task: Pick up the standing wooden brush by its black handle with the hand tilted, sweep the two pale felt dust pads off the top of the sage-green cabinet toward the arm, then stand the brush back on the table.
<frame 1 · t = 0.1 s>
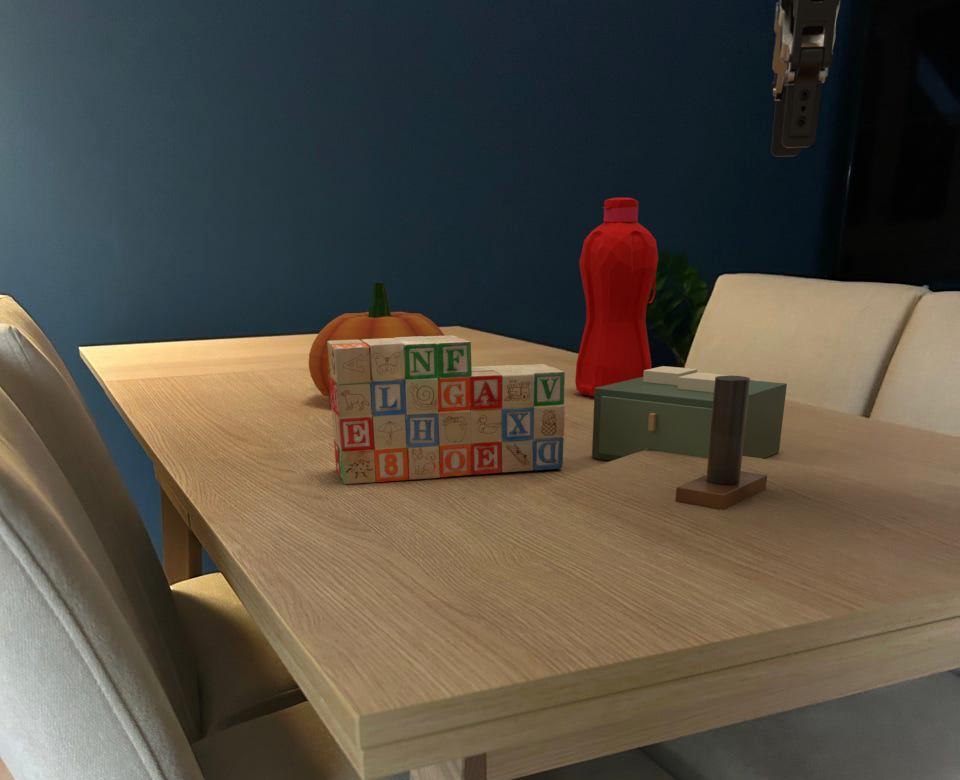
hand: (791, 151, 71), 27 cm above the table, tool pointing down, fingers open, 8 cm apart
cabinet: (686, 455, 99), on the table
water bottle: (617, 396, 135), on the table
dust pad 1: (669, 381, 99), point 7 cm above the table, touching cabinet
stack of blocks: (448, 472, 94), on the table
brush: (719, 517, 78), on the table
pumpkin: (383, 401, 132), on the table
dust pad 2: (705, 388, 95), point 7 cm above the table, touching cabinet
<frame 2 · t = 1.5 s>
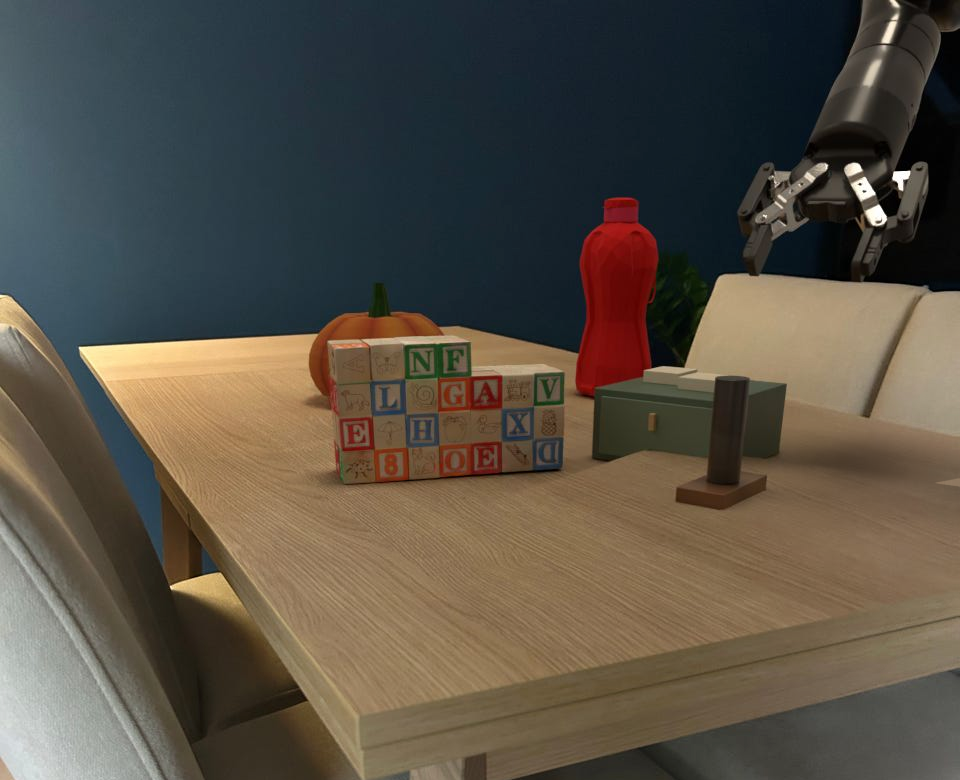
hand: (802, 272, 79), 18 cm above the table, tool tilted 45°, fingers open, 8 cm apart
nothing on the table moved.
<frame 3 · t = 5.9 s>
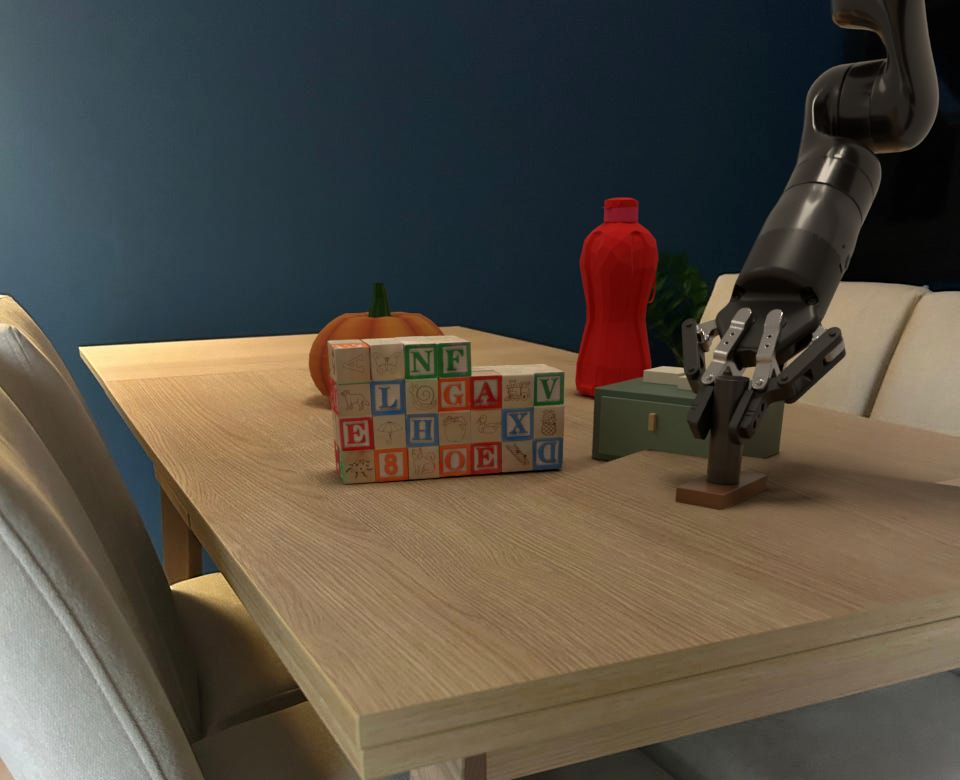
hand: (715, 435, 74), 7 cm above the table, tool tilted 45°, fingers closed on brush, 2 cm apart
brush: (719, 517, 78), on the table, touching gripper
everything else where it was.
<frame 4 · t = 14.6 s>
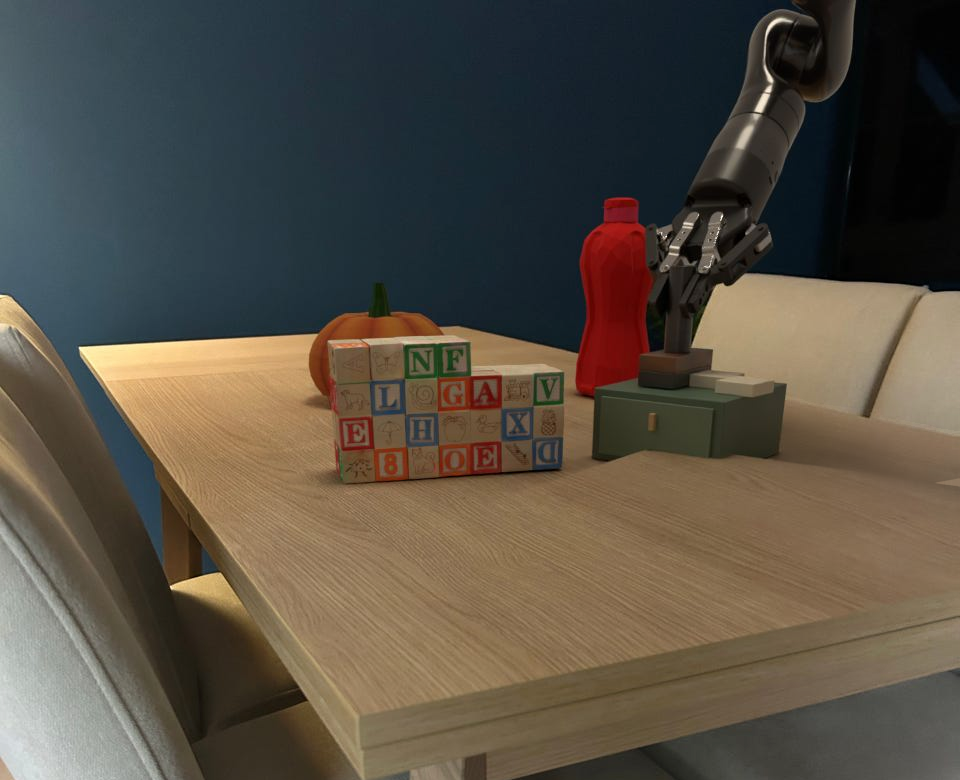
hand: (670, 311, 93), 14 cm above the table, tool tilted 45°, fingers closed on brush, 2 cm apart
dust pad 1: (716, 386, 96), point 7 cm above the table, touching brush, cabinet
brush: (674, 382, 98), point 7 cm above the table, touching dust pad 1, gripper
dust pad 2: (744, 392, 92), point 7 cm above the table
everything else where it was.
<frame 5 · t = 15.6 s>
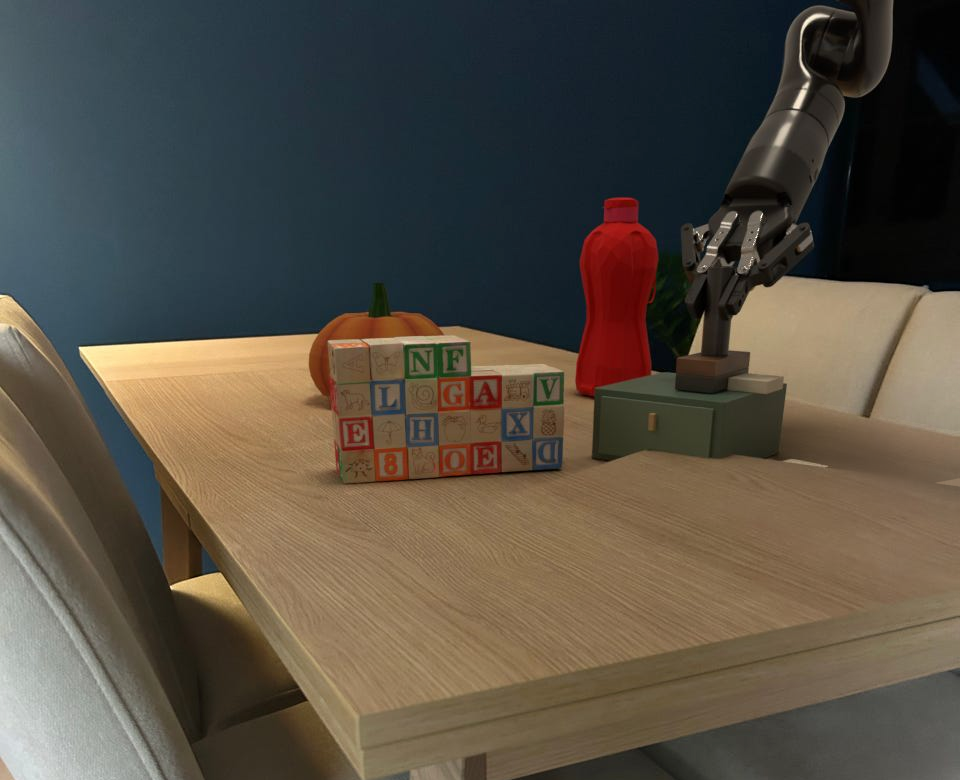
hand: (708, 313, 91), 14 cm above the table, tool tilted 45°, fingers closed on brush, 2 cm apart
dust pad 1: (754, 389, 94), point 7 cm above the table
brush: (711, 386, 95), point 7 cm above the table, touching gripper
dust pad 2: (797, 465, 90), point 1 cm above the table, tilted 180°
everything else where it was.
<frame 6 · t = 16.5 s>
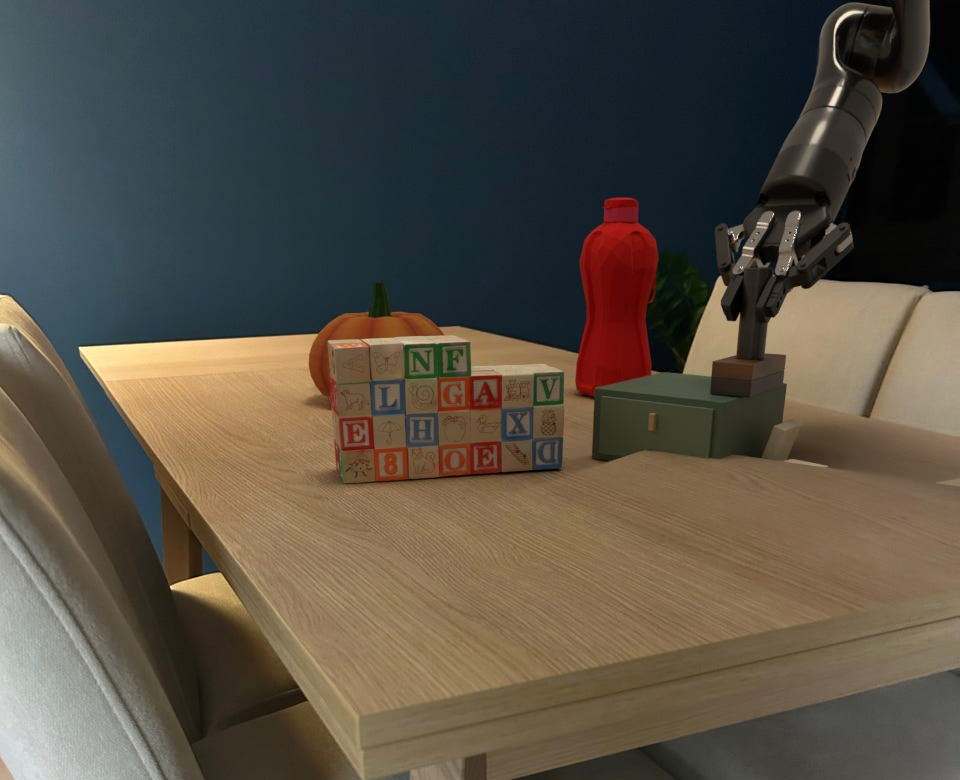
hand: (745, 315, 89), 14 cm above the table, tool tilted 45°, fingers closed on brush, 2 cm apart
dust pad 1: (774, 442, 94), point 2 cm above the table, tilted 105°
brush: (747, 390, 93), point 7 cm above the table, touching gripper
everything else where it was.
when the fingers open (7 cm above the table, at t = 26.1 s): brush stays where it is, on the table.
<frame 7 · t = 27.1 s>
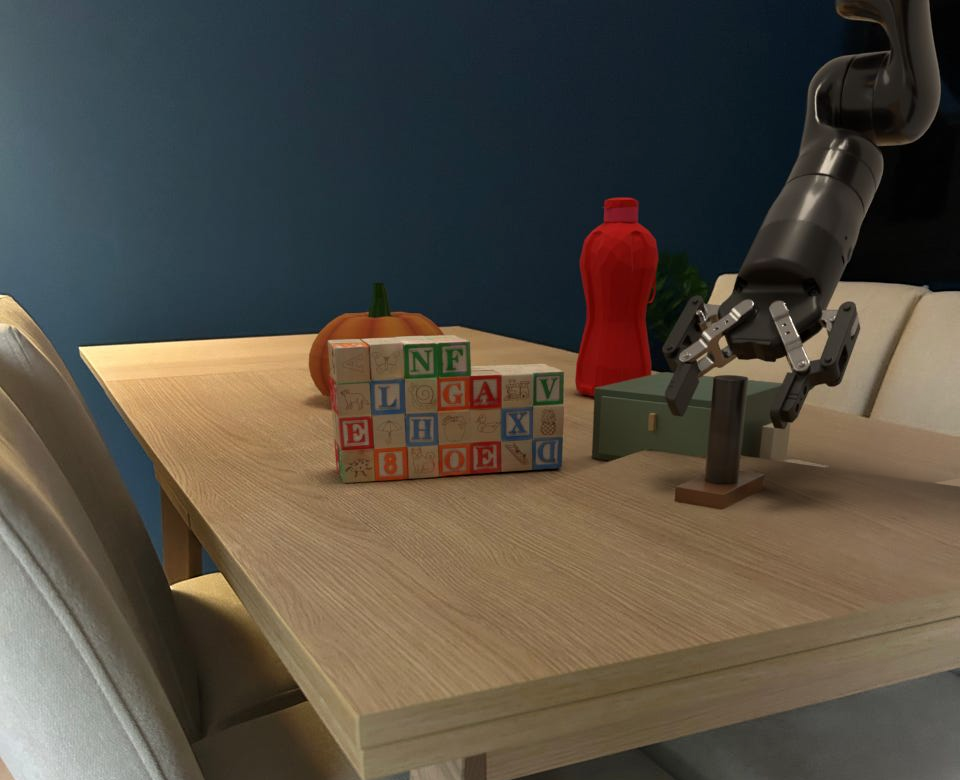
hand: (723, 416, 74), 8 cm above the table, tool tilted 45°, fingers open, 8 cm apart
dust pad 1: (768, 443, 95), point 2 cm above the table, tilted 90°
brush: (717, 516, 79), on the table
everything else where it was.
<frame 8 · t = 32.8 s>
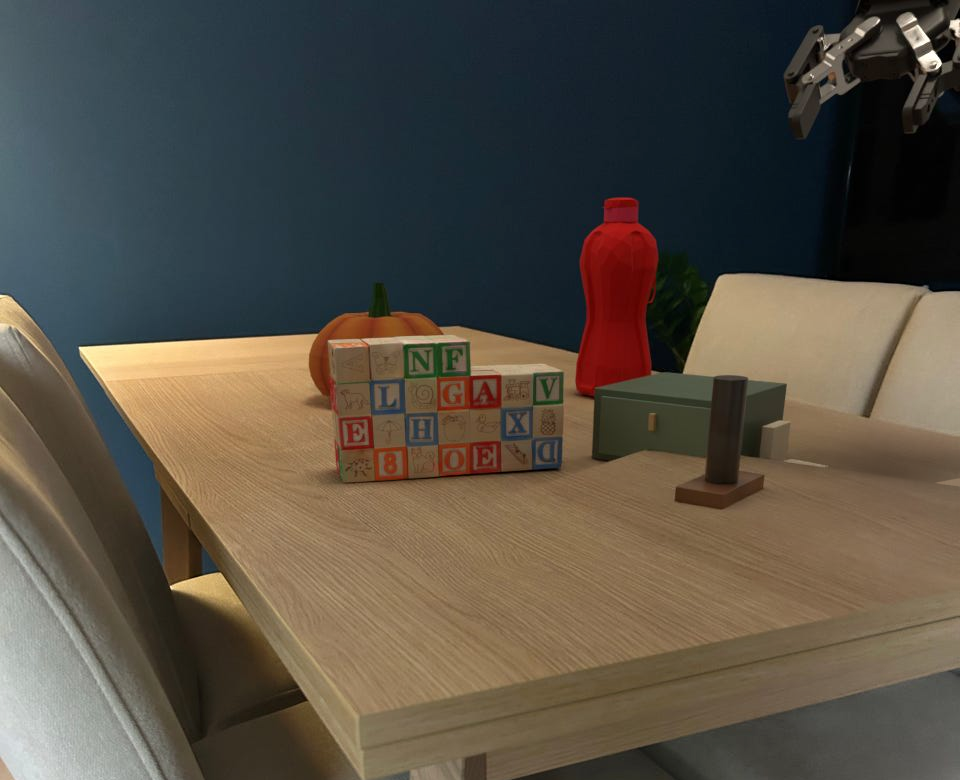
hand: (851, 127, 75), 29 cm above the table, tool tilted 45°, fingers open, 8 cm apart
nothing on the table moved.
at the end: dust pad 1 point 2.0 cm above the table; dust pad 2 point 1.2 cm above the table; brush tilted 0° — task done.
